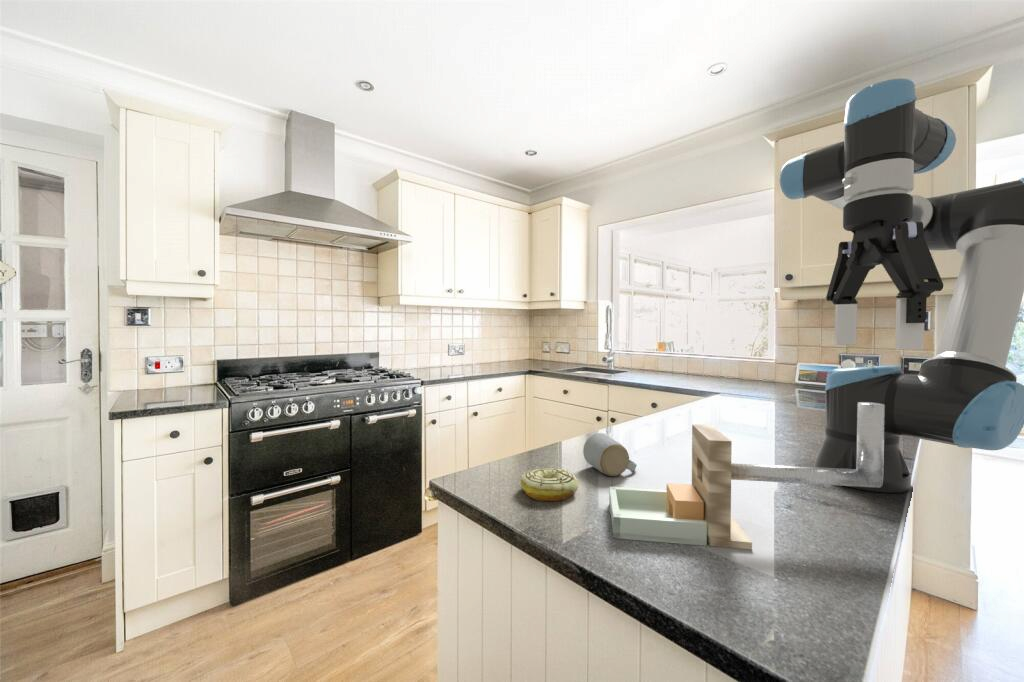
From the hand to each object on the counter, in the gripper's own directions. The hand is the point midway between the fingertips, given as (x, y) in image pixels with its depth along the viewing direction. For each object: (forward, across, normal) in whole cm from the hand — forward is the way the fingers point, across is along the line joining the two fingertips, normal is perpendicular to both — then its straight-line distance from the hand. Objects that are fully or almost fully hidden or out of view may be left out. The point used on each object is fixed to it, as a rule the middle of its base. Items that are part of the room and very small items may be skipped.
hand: (873, 347), depth 61 cm
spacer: (+27, 0, -26) cm, 38 cm away
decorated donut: (+29, -10, -48) cm, 57 cm away
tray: (+28, 0, -31) cm, 42 cm away
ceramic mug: (+28, -24, -36) cm, 52 cm away
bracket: (+28, 0, -21) cm, 35 cm away
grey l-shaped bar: (+20, 0, -10) cm, 23 cm away
